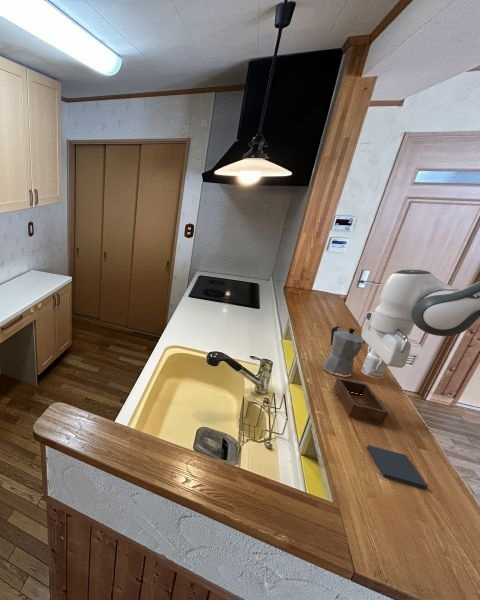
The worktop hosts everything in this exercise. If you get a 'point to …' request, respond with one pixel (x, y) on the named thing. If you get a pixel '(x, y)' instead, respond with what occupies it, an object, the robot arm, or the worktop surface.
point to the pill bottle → (371, 365)
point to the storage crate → (370, 413)
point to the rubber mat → (396, 466)
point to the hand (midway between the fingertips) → (374, 365)
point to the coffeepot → (343, 351)
